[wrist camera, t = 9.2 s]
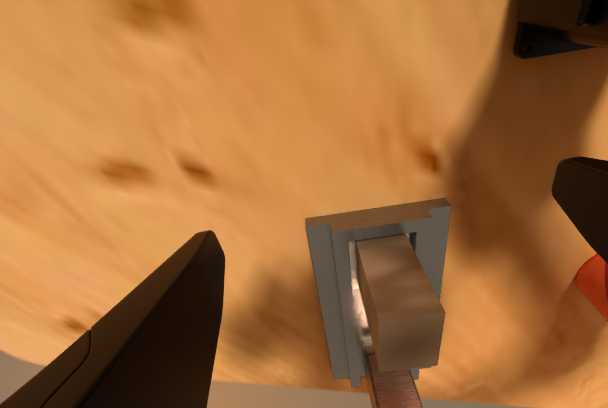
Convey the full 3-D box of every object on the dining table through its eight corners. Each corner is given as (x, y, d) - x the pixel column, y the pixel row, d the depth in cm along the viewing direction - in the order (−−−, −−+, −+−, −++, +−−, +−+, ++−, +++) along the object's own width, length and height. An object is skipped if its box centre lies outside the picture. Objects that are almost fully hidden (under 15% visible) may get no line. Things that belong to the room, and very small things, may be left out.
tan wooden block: (403, 230, 23) (445, 312, 17) (402, 285, 26) (436, 370, 20) (354, 237, 23) (378, 320, 17) (358, 291, 26) (380, 377, 20)
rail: (445, 197, 22) (512, 282, 16) (427, 358, 33) (463, 448, 27) (305, 218, 23) (313, 309, 16) (332, 370, 34) (344, 462, 27)
